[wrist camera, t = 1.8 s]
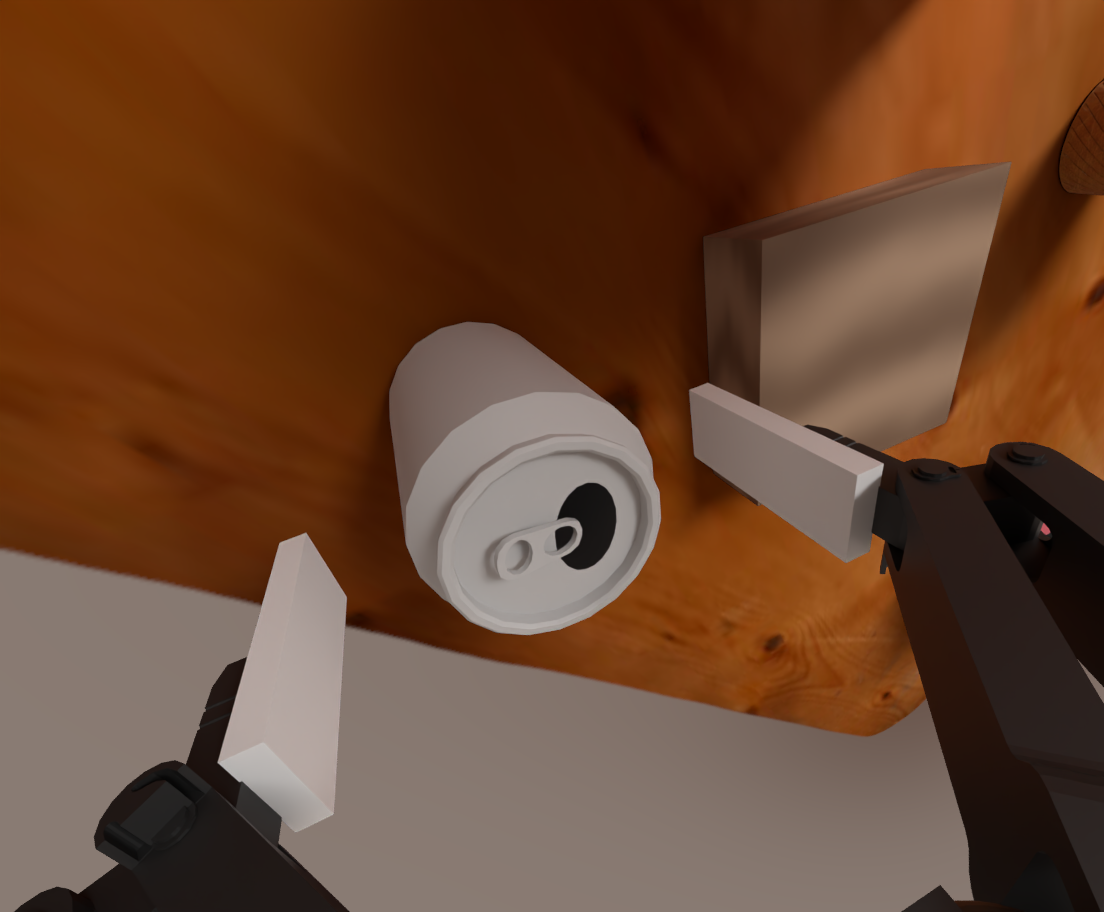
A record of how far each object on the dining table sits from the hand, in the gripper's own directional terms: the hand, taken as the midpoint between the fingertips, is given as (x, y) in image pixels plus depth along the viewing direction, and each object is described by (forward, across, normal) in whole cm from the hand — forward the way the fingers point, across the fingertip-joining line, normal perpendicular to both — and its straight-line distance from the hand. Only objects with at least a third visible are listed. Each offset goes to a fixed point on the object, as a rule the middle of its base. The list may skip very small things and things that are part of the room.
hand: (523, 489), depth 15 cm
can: (+8, 0, 0) cm, 8 cm away
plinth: (+8, +20, -2) cm, 22 cm away
